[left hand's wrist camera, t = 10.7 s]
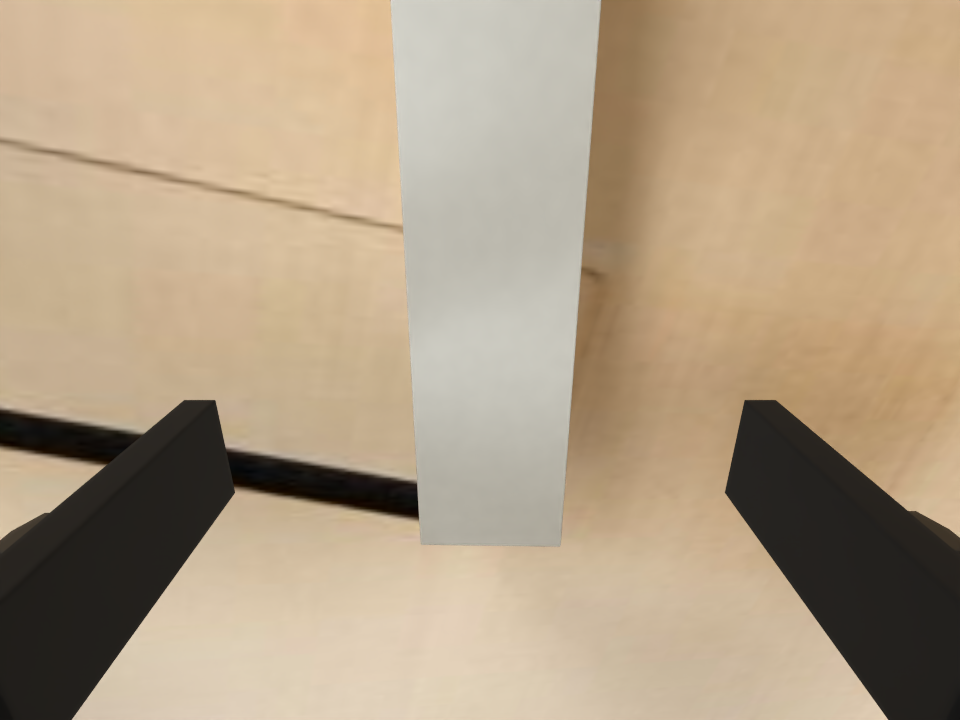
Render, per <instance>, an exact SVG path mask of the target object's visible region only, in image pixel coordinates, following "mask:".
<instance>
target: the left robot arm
mask: <svg viewBox="0 0 960 720" xmlns="http://www.w3.org/2000/svg"><path fill="white" fill-rule="evenodd" d="M234 493H235V490H234V486H233V481H232V476H231V472H230V467H229V462H228V458H227V453H226V448H225V444H224V439H223V434H222V429H221V425H220V420H219V415H218V411H217V406H216V401H215V400H184V401H183V402H182V403H180V404H179V405H178V406H177V407H176V408H174V409H173V410H172V411H171V412H170V413H169V414H167V415H166V416H165V417H164V418H163V419H161V420H160V421H159V422H158V423H157V424H155V425H154V426H153V427H152V428H151V429H149V430H148V431H147V432H146V433H145V434H143V435H142V436H141V437H140V438H139V439H138V440H136V441H135V442H134V443H133V444H132V445H130V446H129V447H128V448H127V449H126V450H124V451H123V452H122V453H121V454H120V455H118V456H117V457H116V458H115V459H114V460H112V461H111V462H110V463H109V464H108V465H106V466H105V467H104V468H103V469H102V470H101V471H99V472H98V473H97V474H96V475H95V476H93V477H92V478H91V479H90V480H89V481H87V482H86V483H85V484H84V485H83V486H81V487H80V488H79V489H78V490H77V491H75V492H74V493H73V494H72V495H71V496H70V497H68V498H67V499H66V500H65V501H64V502H62V503H61V504H60V505H59V506H58V507H56V508H55V509H54V510H53V511H52V512H50V513H44V514H42V515H40V516H38V517H37V518H35V519H33V520H31V521H29V522H27V523H26V524H24V525H22V526H20V527H18V528H16V529H15V530H13V531H11V532H10V533H9V534H7V535H6V536H5V537H4V538H2V539H1V540H0V720H72V718H73V717H74V716H75V714H76V713H77V711H78V710H79V709H80V707H81V706H82V705H83V703H84V702H85V700H86V699H87V698H88V696H89V695H90V693H91V692H92V691H93V689H94V688H95V686H96V685H97V684H98V682H99V681H100V680H101V678H102V677H103V675H104V674H105V673H106V671H107V670H108V668H109V667H110V666H111V664H112V663H113V661H114V660H115V659H116V657H117V656H118V655H119V653H120V652H121V650H122V649H123V648H124V646H125V645H126V643H127V642H128V641H129V639H130V638H131V636H132V635H133V634H134V632H135V631H136V630H137V628H138V627H139V625H140V624H141V623H142V621H143V620H144V618H145V617H146V616H147V614H148V613H149V611H150V610H151V609H152V607H153V606H154V605H155V603H156V602H157V600H158V599H159V598H160V596H161V595H162V593H163V592H164V591H165V589H166V588H167V586H168V585H169V584H170V582H171V581H172V580H173V578H174V577H175V575H176V574H177V573H178V571H179V570H180V568H181V567H182V566H183V564H184V563H185V561H186V560H187V559H188V557H189V556H190V555H191V553H192V552H193V550H194V549H195V548H196V546H197V545H198V543H199V542H200V541H201V539H202V538H203V536H204V535H205V534H206V532H207V531H208V530H209V528H210V527H211V525H212V524H213V523H214V521H215V520H216V518H217V517H218V516H219V514H220V513H221V511H222V510H223V509H224V507H225V506H226V505H227V503H228V502H229V500H230V499H231V498H232V496H233V495H234ZM725 493H726V495H727V496H728V498H729V499H730V500H731V502H732V503H733V505H734V506H735V507H736V509H737V510H738V511H739V513H740V514H741V516H742V517H743V518H744V520H745V521H746V523H747V524H748V525H749V527H750V528H751V530H752V531H753V532H754V534H755V535H756V536H757V538H758V539H759V541H760V542H761V543H762V545H763V546H764V548H765V549H766V550H767V552H768V553H769V555H770V556H771V557H772V559H773V560H774V561H775V563H776V564H777V566H778V567H779V568H780V570H781V571H782V573H783V574H784V575H785V577H786V578H787V580H788V581H789V582H790V584H791V585H792V586H793V588H794V589H795V591H796V592H797V593H798V595H799V596H800V598H801V599H802V600H803V602H804V603H805V605H806V606H807V607H808V609H809V610H810V611H811V613H812V614H813V616H814V617H815V618H816V620H817V621H818V623H819V624H820V625H821V627H822V628H823V630H824V631H825V632H826V634H827V635H828V636H829V638H830V639H831V641H832V642H833V643H834V645H835V646H836V648H837V649H838V650H839V652H840V653H841V655H842V656H843V657H844V659H845V660H846V661H847V663H848V664H849V666H850V667H851V668H852V670H853V671H854V673H855V674H856V675H857V677H858V678H859V680H860V681H861V682H862V684H863V685H864V686H865V688H866V689H867V691H868V692H869V693H870V695H871V696H872V698H873V699H874V700H875V702H876V703H877V705H878V706H879V707H880V709H881V710H882V711H883V713H884V714H885V716H886V717H887V718H888V720H960V538H959V537H958V536H957V535H956V534H954V533H953V532H952V531H951V530H949V529H948V528H946V527H944V526H942V525H940V524H938V523H937V522H935V521H933V520H931V519H929V518H927V517H926V516H924V515H922V514H920V513H918V512H916V511H907V510H906V509H905V508H904V507H902V506H901V505H900V504H899V503H898V502H896V501H895V500H894V499H893V498H892V497H890V496H889V495H888V494H887V493H886V492H885V491H883V490H882V489H881V488H880V487H879V486H877V485H876V484H875V483H874V482H873V481H871V480H870V479H869V478H868V477H867V476H865V475H864V474H863V473H862V472H861V471H859V470H858V469H857V468H856V467H855V466H854V465H852V464H851V463H850V462H849V461H848V460H846V459H845V458H844V457H843V456H842V455H840V454H839V453H838V452H837V451H836V450H834V449H833V448H832V447H831V446H830V445H828V444H827V443H826V442H825V441H824V440H822V439H821V438H820V437H819V436H818V435H817V434H815V433H814V432H813V431H812V430H811V429H809V428H808V427H807V426H806V425H805V424H803V423H802V422H801V421H800V420H799V419H797V418H796V417H795V416H794V415H793V414H791V413H790V412H789V411H788V410H787V409H786V408H784V407H783V406H782V405H781V404H780V403H778V402H777V401H776V400H745V401H744V406H743V411H742V415H741V420H740V425H739V429H738V434H737V439H736V444H735V448H734V453H733V458H732V462H731V467H730V472H729V476H728V481H727V486H726V490H725Z"/></svg>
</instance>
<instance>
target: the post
mask: <svg viewBox="0 0 960 720" xmlns="http://www.w3.org/2000/svg"><path fill="white" fill-rule="evenodd" d="M600 12H601V0H391V18H392V36H393V54H394V72H395V90H396V108H397V126H398V144H399V162H400V180H401V198H402V216H403V234H404V252H405V270H406V288H407V306H408V324H409V342H410V360H411V378H412V396H413V414H414V432H415V450H416V468H417V486H418V504H419V522H420V540H421V544H422V545H481V546H553V547H559V546H560V545H561V533H562V520H563V506H564V493H565V480H566V466H567V453H568V440H569V426H570V413H571V400H572V386H573V373H574V360H575V346H576V333H577V320H578V306H579V293H580V279H581V266H582V253H583V239H584V226H585V213H586V199H587V186H588V173H589V159H590V146H591V133H592V119H593V106H594V93H595V79H596V66H597V53H598V39H599V26H600Z"/></svg>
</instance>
